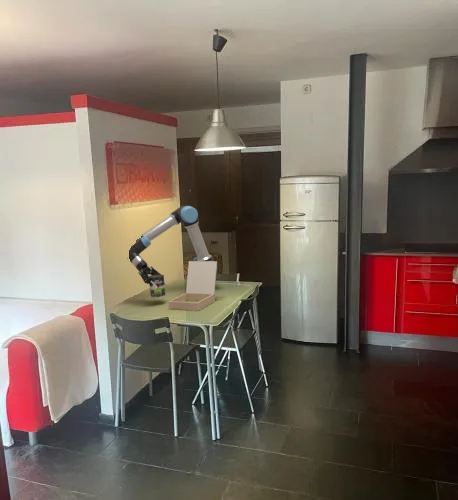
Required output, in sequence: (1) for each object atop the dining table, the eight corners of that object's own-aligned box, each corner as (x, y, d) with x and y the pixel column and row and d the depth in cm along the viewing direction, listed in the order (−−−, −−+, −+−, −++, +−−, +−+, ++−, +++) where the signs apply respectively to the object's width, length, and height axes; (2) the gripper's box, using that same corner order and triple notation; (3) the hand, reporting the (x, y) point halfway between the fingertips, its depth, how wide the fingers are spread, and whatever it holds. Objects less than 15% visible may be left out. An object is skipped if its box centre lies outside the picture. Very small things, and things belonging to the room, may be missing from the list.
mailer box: (192, 296, 318) (189, 261, 314) (220, 298, 308) (217, 261, 304) (169, 308, 292) (164, 269, 288) (198, 310, 282) (194, 270, 278)
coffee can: (166, 297, 303) (164, 276, 301) (150, 298, 301) (148, 278, 299) (165, 293, 313) (163, 273, 311) (150, 295, 311) (148, 275, 309)
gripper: (147, 264, 321) (167, 286, 317) (126, 270, 301) (148, 294, 297) (152, 257, 318) (173, 279, 313) (132, 263, 298) (153, 287, 294)
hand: (160, 287), depth 305 cm, fingers closed on coffee can, 10 cm apart
